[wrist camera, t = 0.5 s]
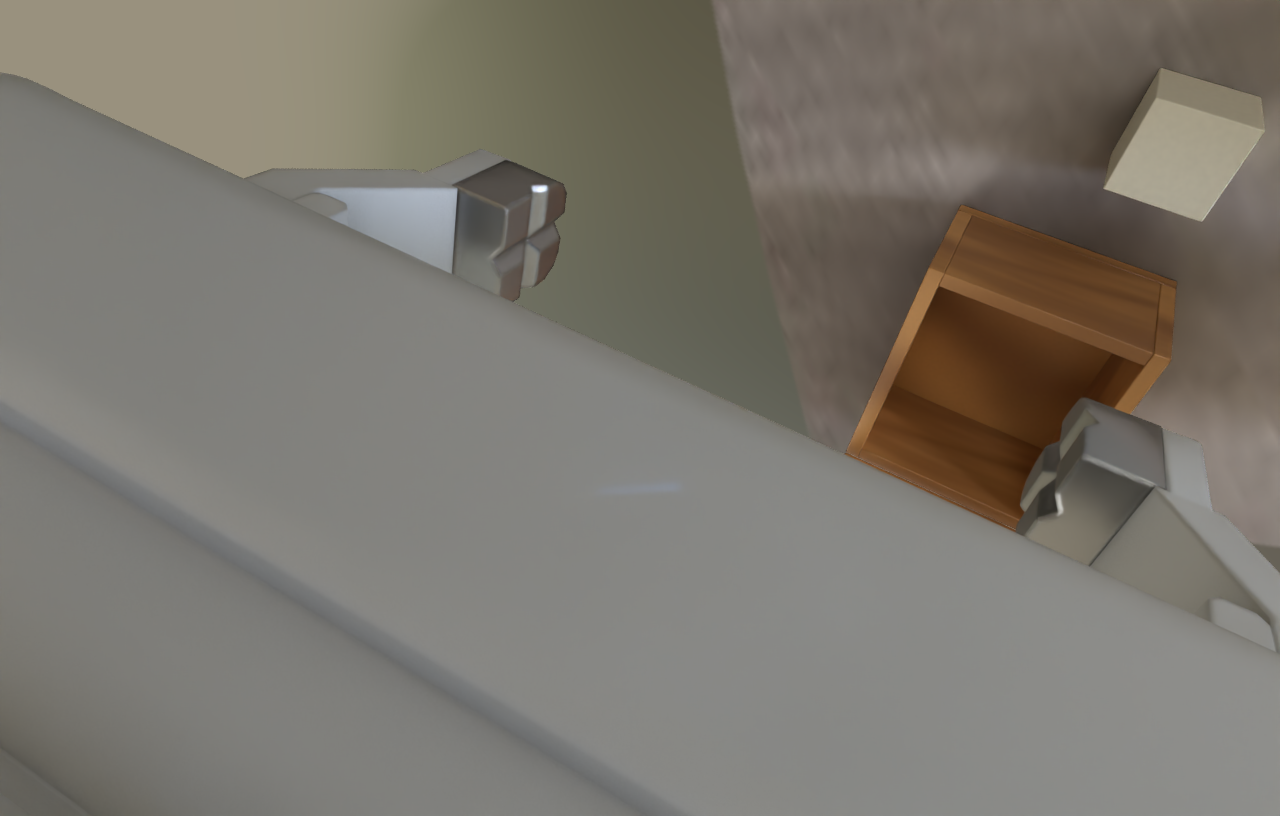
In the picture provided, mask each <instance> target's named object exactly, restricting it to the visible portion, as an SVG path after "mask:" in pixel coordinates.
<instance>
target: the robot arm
mask: <svg viewBox="0 0 1280 816" xmlns="http://www.w3.org/2000/svg"><path fill="white" fill-rule="evenodd" d="M566 195H567V193H566V190H565V187H564V184H563V183H561V182H558V181H556V180H554V179H551V178H549V177H547V176H545V175H542V174H540V173H537V172H535V171H533V170H531V169H528V168H526V167H524V166H521V165H519V164H517V163H514V162H511V161H510V160H509V159H507V158H504V157H502V156H499V155H496V154H494V153H491V152H488V151H485V150H483V149H479V150H477V151H474V152H472V153H470V154H467V155H465V156H462V157H460V158H457V159H455V160H453V161H450V162H448V163H445V164H443V165H441V166H438V167H436V168H434V169H431V170H429V171H426V172H424V173H421V172H419V171H416V170H382V169H379V170H377V169H270V170H267V171H264V172H261V173H258V174H255V175H253V176H250V177H247V178H244V179H243V178H241V177H239V176H237V175H234V174H232V173H230V172H228V171H226V170H224V169H221V168H219V167H217V166H215V165H213V164H210V163H208V162H206V161H204V160H202V159H199V158H197V157H195V156H193V155H191V154H189V153H186V152H184V151H182V150H180V149H178V148H175V147H173V146H171V145H169V144H167V143H164V142H162V141H160V140H158V139H156V138H154V137H151V136H149V135H147V134H145V133H143V132H140V131H138V130H136V129H134V128H132V127H130V126H127V125H125V124H123V123H121V122H118V121H116V120H114V119H112V118H110V117H108V116H106V115H103V114H101V113H99V112H97V111H95V110H93V109H90V108H88V107H86V106H84V105H82V104H79V103H77V102H75V101H73V100H71V99H69V98H67V97H65V96H63V95H61V94H59V93H57V92H55V91H53V90H51V89H49V88H47V87H45V86H43V85H40V84H38V83H36V82H33V81H31V80H29V79H26V78H23V77H20V76H17V75H12V74H7V73H1V72H0V816H1280V573H1279V572H1278V571H1277V570H1276V569H1275V568H1274V567H1273V566H1272V565H1271V564H1270V563H1269V562H1268V560H1267V559H1265V557H1264V556H1263V555H1262V554H1261V553H1260V552H1259V551H1258V550H1257V549H1256V548H1255V547H1254V546H1253V545H1252V544H1251V543H1250V542H1249V541H1248V540H1247V539H1246V537H1245V536H1244V535H1243V534H1242V533H1241V532H1240V531H1239V530H1238V529H1237V528H1236V527H1235V526H1234V525H1233V524H1232V523H1231V522H1230V521H1229V520H1228V519H1227V518H1226V517H1225V516H1224V515H1222V514H1220V513H1218V512H1215V511H1213V510H1212V506H1211V499H1210V493H1209V487H1208V481H1207V474H1206V468H1205V462H1204V456H1203V449H1202V445H1201V444H1200V443H1199V442H1198V441H1196V440H1194V439H1191V438H1188V437H1185V436H1183V435H1180V434H1177V433H1174V432H1172V431H1169V430H1166V429H1163V428H1161V426H1159V425H1156V424H1154V423H1151V422H1148V421H1146V420H1143V419H1141V418H1138V417H1136V416H1133V415H1130V414H1128V413H1125V412H1123V411H1120V410H1117V409H1115V408H1112V407H1110V406H1107V405H1104V404H1102V403H1099V402H1097V401H1094V400H1091V399H1089V398H1080V399H1079V400H1078V401H1077V402H1076V404H1075V405H1074V406H1073V407H1072V408H1071V410H1070V411H1069V413H1068V414H1067V416H1066V417H1065V418H1064V420H1063V421H1062V428H1061V436H1060V441H1058V442H1055V443H1053V444H1050V445H1048V446H1046V447H1045V448H1044V450H1043V451H1042V453H1041V455H1040V456H1039V458H1038V459H1037V461H1036V463H1035V464H1034V466H1033V468H1032V470H1031V472H1030V474H1029V476H1028V478H1027V480H1026V482H1025V485H1024V488H1023V491H1022V495H1021V500H1020V506H1021V508H1022V509H1023V511H1024V512H1025V513H1024V514H1023V516H1022V517H1021V518H1020V520H1019V521H1018V523H1017V525H1016V532H1013V531H1011V530H1009V529H1006V528H1004V527H1002V526H1000V525H998V524H995V523H993V522H991V521H989V520H987V519H985V518H982V517H980V516H978V515H976V514H974V513H971V512H969V511H967V510H965V509H963V508H961V507H958V506H956V505H954V504H952V503H950V502H947V501H945V500H943V499H941V498H939V497H937V496H934V495H932V494H930V493H928V492H926V491H924V490H921V489H919V488H917V487H915V486H913V485H910V484H908V483H906V482H904V481H902V480H900V479H897V478H895V477H893V476H891V475H889V474H886V473H884V472H882V471H880V470H878V469H876V468H873V467H871V466H869V465H867V464H865V463H862V462H860V461H858V460H856V459H854V458H852V457H849V456H847V455H845V454H843V453H841V452H838V451H836V450H834V449H832V448H830V447H828V446H825V445H823V444H821V443H819V442H817V441H814V440H812V439H810V438H808V437H806V436H804V435H801V434H799V433H797V432H795V431H793V430H790V429H788V428H786V427H784V426H782V425H780V424H777V423H775V422H773V421H771V420H769V419H766V418H764V417H762V416H760V415H758V414H756V413H753V412H751V411H749V410H747V409H745V408H742V407H740V406H738V405H736V404H733V403H732V402H729V401H727V400H725V399H723V398H721V397H718V396H716V395H714V394H712V393H710V392H708V391H705V390H703V389H701V388H699V387H696V386H695V385H692V384H690V383H688V382H686V381H684V380H682V379H679V378H677V377H675V376H673V375H671V374H668V373H666V372H664V371H662V370H660V369H658V368H655V367H653V366H651V365H649V364H646V363H644V362H642V361H640V360H638V359H636V358H633V357H631V356H629V355H627V354H625V353H622V352H621V351H618V350H616V349H614V348H612V347H610V346H607V345H605V344H603V343H601V342H599V341H597V340H594V339H592V338H590V337H588V336H586V335H583V334H581V333H579V332H577V331H575V330H572V329H570V328H568V327H566V326H564V325H562V324H559V323H557V322H555V321H553V320H551V319H548V318H546V317H544V316H542V315H540V314H538V313H536V312H533V311H531V310H529V309H527V308H525V307H522V306H520V305H518V304H516V303H514V301H515V300H517V299H518V298H519V296H520V289H521V288H528V287H535V286H536V285H538V284H539V283H540V282H542V281H543V280H544V279H545V278H546V276H547V275H548V273H549V272H550V270H551V269H552V267H553V265H554V262H555V260H556V256H557V254H558V250H559V244H560V235H559V233H558V230H557V228H556V225H555V220H557V219H558V218H559V217H560V216H561V215H562V214H563V213H564V211H565V203H566Z"/></svg>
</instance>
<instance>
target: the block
mask: <svg viewBox="0 0 1280 816" xmlns="http://www.w3.org/2000/svg"><path fill="white" fill-rule="evenodd" d="M1264 132H1265V127H1264V118H1263V110H1262V101H1261V98H1260V97H1258V96H1254V95H1251V94H1248V93H1244V92H1241V91H1237V90H1234V89H1231V88H1227V87H1224V86H1221V85H1217V84H1214V83H1210V82H1207V81H1204V80H1200V79H1197V78H1193V77H1190V76H1187V75H1183V74H1180V73H1177V72H1173V71H1170V70H1166V69H1163V68H1160V69H1159V71H1158V73H1157V74H1156V76H1155V78H1154V80H1153V81H1152V83H1151V85H1150V87H1149V89H1148V90H1147V92H1146V94H1145V96H1144V97H1143V99H1142V101H1141V103H1140V104H1139V106H1138V108H1137V110H1136V111H1135V113H1134V115H1133V117H1132V118H1131V120H1130V122H1129V124H1128V125H1127V127H1126V129H1125V131H1124V132H1123V134H1122V136H1121V138H1120V139H1119V141H1118V143H1117V145H1116V146H1115V148H1114V150H1113V152H1112V153H1111V157H1110V161H1109V165H1108V170H1107V174H1106V178H1105V182H1104V186H1103V189H1105V190H1108V191H1111V192H1114V193H1117V194H1120V195H1123V196H1126V197H1129V198H1132V199H1135V200H1138V201H1141V202H1144V203H1147V204H1150V205H1153V206H1156V207H1158V208H1161V209H1164V210H1167V211H1170V212H1173V213H1176V214H1179V215H1182V216H1185V217H1188V218H1191V219H1194V220H1197V221H1200V222H1202V221H1203V220H1204V218H1205V217H1206V216H1207V214H1208V213H1209V211H1210V210H1211V208H1212V207H1213V205H1214V204H1215V203H1216V201H1217V200H1218V198H1219V197H1220V195H1221V194H1222V193H1223V191H1224V190H1225V188H1226V187H1227V185H1228V184H1229V182H1230V181H1231V180H1232V178H1233V177H1234V175H1235V174H1236V172H1237V171H1238V169H1239V168H1240V167H1241V165H1242V164H1243V162H1244V161H1245V159H1246V158H1247V157H1248V155H1249V154H1250V152H1251V151H1252V149H1253V148H1254V146H1255V145H1256V144H1257V142H1258V141H1259V139H1260V138H1261V136H1262V135H1263V133H1264Z"/></svg>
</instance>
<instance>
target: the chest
mask: <svg viewBox="0 0 1280 816" xmlns="http://www.w3.org/2000/svg"><path fill="white" fill-rule="evenodd" d="M1176 286H1177V282H1176V281H1173V280H1170V279H1168V278H1165V277H1162V276H1159V275H1156V274H1154V273H1151V272H1148V271H1145V270H1142V269H1140V268H1137V267H1134V266H1131V265H1129V264H1126V263H1123V262H1120V261H1117V260H1115V259H1112V258H1109V257H1106V256H1103V255H1101V254H1098V253H1095V252H1092V251H1090V250H1087V249H1084V248H1081V247H1078V246H1076V245H1073V244H1070V243H1067V242H1065V241H1062V240H1059V239H1056V238H1053V237H1051V236H1048V235H1045V234H1042V233H1039V232H1037V231H1034V230H1031V229H1028V228H1026V227H1023V226H1020V225H1017V224H1014V223H1012V222H1009V221H1006V220H1003V219H1000V218H998V217H995V216H992V215H989V214H987V213H984V212H981V211H978V210H975V209H973V208H970V207H967V206H964V205H961V206H960V208H959V210H958V212H957V214H956V215H955V217H954V219H953V221H952V223H951V225H950V227H949V229H948V231H947V233H946V235H945V237H944V239H943V241H942V243H941V244H940V246H939V248H938V250H937V252H936V254H935V256H934V258H933V260H932V262H931V264H930V266H929V268H928V270H927V272H926V274H925V277H924V279H923V281H922V283H921V285H920V288H919V290H918V292H917V294H916V297H915V299H914V301H913V303H912V305H911V308H910V310H909V312H908V314H907V317H906V319H905V321H904V323H903V325H902V328H901V330H900V332H899V334H898V337H897V339H896V341H895V343H894V345H893V348H892V350H891V352H890V354H889V357H888V359H887V361H886V363H885V365H884V368H883V370H882V372H881V374H880V377H879V379H878V381H877V383H876V385H875V388H874V390H873V392H872V394H871V396H870V399H869V401H868V403H867V405H866V408H865V410H864V412H863V414H862V416H861V419H860V421H859V423H858V425H857V428H856V430H855V432H854V434H853V436H852V439H851V441H850V443H849V445H848V448H847V450H846V452H847V453H850V454H852V455H854V456H856V457H859V458H861V459H863V460H865V461H867V462H869V463H872V464H874V465H876V466H878V467H880V468H882V469H885V470H887V471H889V472H891V473H893V474H896V475H898V476H900V477H902V478H904V479H907V480H909V481H911V482H913V483H915V484H918V485H920V486H922V487H924V488H926V489H928V490H931V491H933V492H935V493H937V494H939V495H942V496H944V497H946V498H948V499H950V500H953V501H955V502H957V503H959V504H961V505H964V506H966V507H968V508H970V509H972V510H975V511H977V512H979V513H981V514H983V515H985V516H988V517H990V518H992V519H994V520H996V521H999V522H1001V523H1003V524H1005V525H1007V526H1010V527H1012V528H1014V529H1016V525H1017V523H1018V521H1019V520H1020V518H1021V517H1022V516H1023V514H1024V513H1025V512H1024V511H1023V509H1022V508H1021V506H1020V500H1021V495H1022V491H1023V488H1024V485H1025V482H1026V480H1027V478H1028V476H1029V474H1030V472H1031V470H1032V468H1033V466H1034V464H1035V463H1036V461H1037V459H1038V458H1039V456H1040V455H1041V453H1042V451H1043V450H1044V448H1045V447H1046V446H1048V445H1050V444H1053V443H1055V442H1058V441H1060V436H1061V428H1062V421H1063V420H1064V418H1065V417H1066V416H1067V414H1068V413H1069V411H1070V410H1071V408H1072V407H1073V406H1074V405H1075V404H1076V402H1077V401H1078V400H1079V399H1080V398H1089V399H1091V400H1094V401H1097V402H1099V403H1102V404H1104V405H1107V406H1110V407H1112V408H1115V409H1117V410H1120V411H1123V412H1125V413H1128V414H1131V412H1132V411H1133V410H1134V409H1135V407H1136V406H1137V405H1138V403H1139V402H1140V401H1141V399H1142V398H1143V397H1144V395H1145V394H1146V393H1147V392H1148V390H1149V389H1150V388H1151V386H1152V385H1153V384H1154V382H1155V381H1156V380H1157V379H1158V377H1159V376H1160V375H1161V373H1162V372H1163V371H1164V369H1165V368H1166V367H1167V366H1168V364H1169V363H1170V362H1171V356H1172V342H1173V327H1174V313H1175V298H1176Z"/></svg>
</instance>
